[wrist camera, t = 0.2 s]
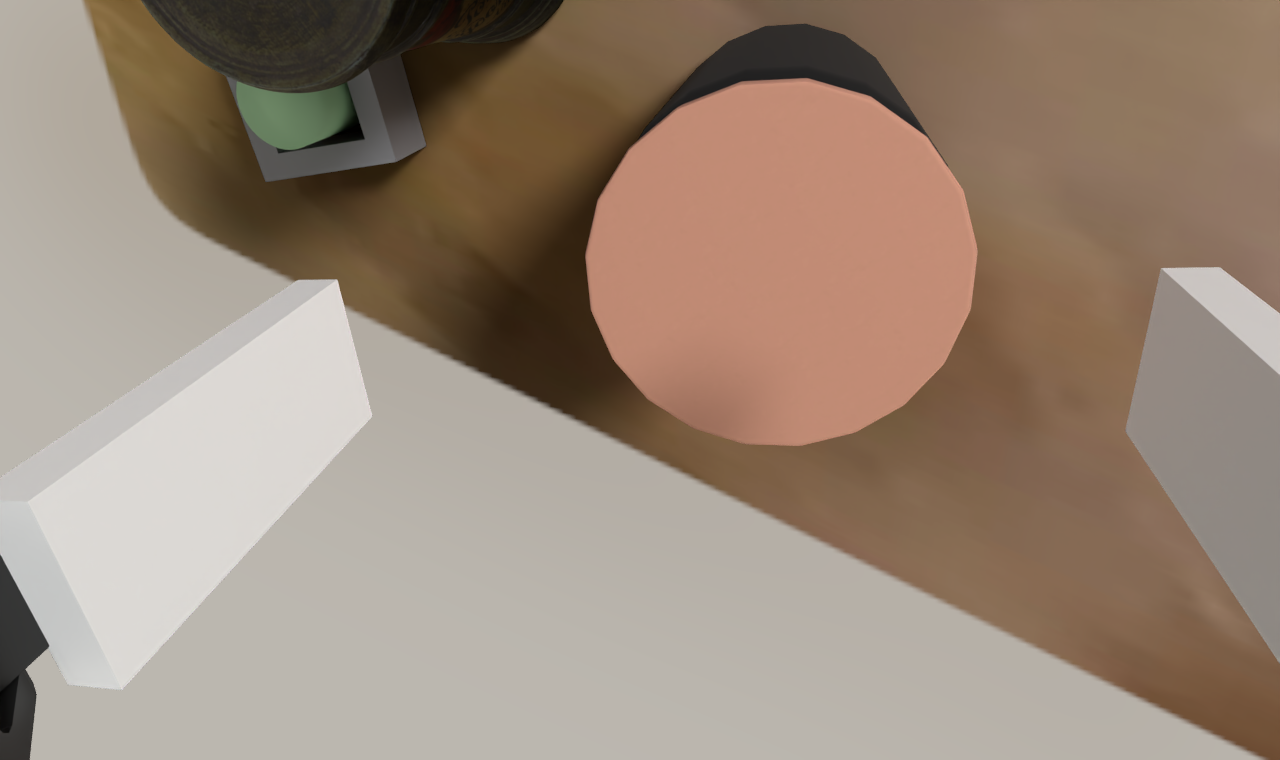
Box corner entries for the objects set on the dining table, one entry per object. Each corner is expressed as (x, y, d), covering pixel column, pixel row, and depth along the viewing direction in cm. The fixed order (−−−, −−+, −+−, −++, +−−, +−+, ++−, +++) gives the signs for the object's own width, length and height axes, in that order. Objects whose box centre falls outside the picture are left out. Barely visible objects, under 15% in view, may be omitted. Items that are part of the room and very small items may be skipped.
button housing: (253, 20, 40) (207, 27, 37) (383, -6, 38) (346, -2, 35) (303, 165, 43) (265, 182, 40) (426, 146, 41) (396, 161, 38)
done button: (279, 50, 39) (222, 62, 35) (354, 36, 38) (303, 46, 34) (309, 135, 41) (257, 155, 37) (381, 123, 40) (335, 142, 36)
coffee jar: (660, 239, 41) (574, 418, 26) (683, 8, 36) (594, 54, 21) (875, 269, 40) (922, 475, 25) (930, 34, 35) (1034, 105, 20)
